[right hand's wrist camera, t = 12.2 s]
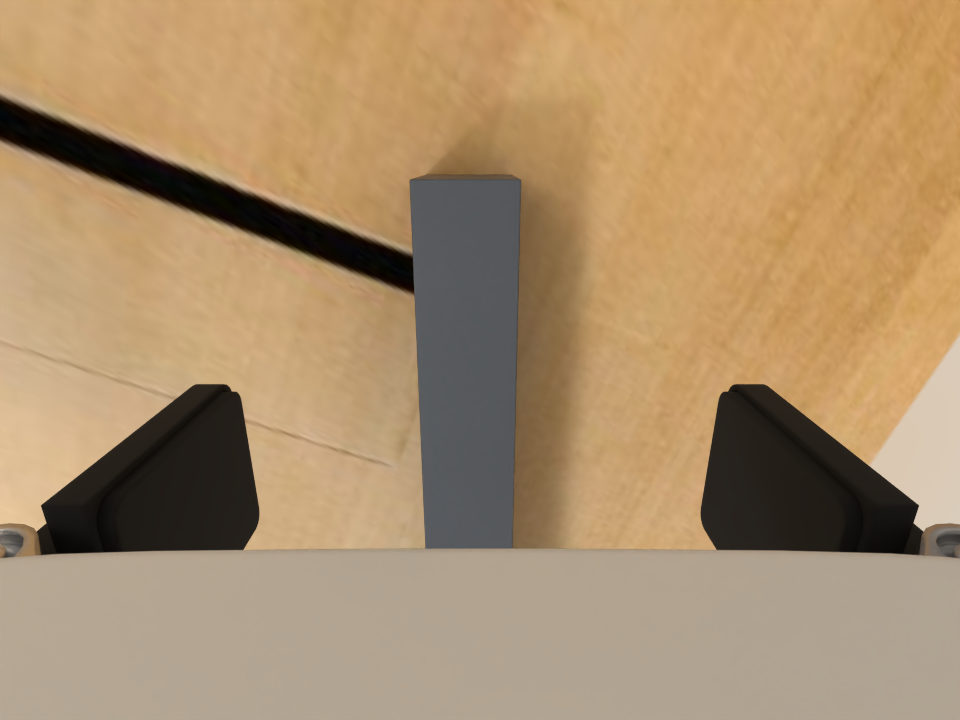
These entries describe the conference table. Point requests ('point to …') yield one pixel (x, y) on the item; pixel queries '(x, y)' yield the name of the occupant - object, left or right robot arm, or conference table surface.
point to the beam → (467, 354)
